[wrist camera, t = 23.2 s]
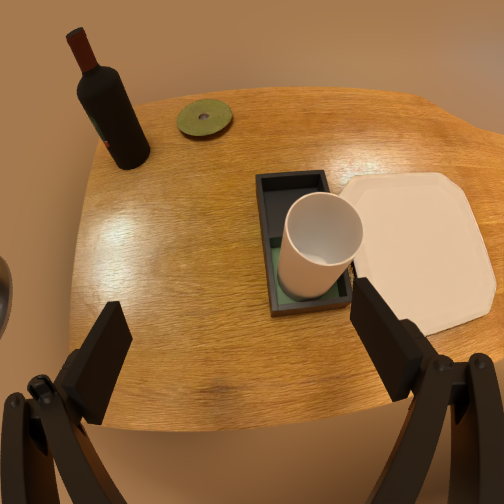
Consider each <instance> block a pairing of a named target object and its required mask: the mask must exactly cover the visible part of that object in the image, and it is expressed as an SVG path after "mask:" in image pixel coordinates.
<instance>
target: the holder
mask: <svg viewBox="0 0 504 504" xmlns="http://www.w3.org/2000/svg"><path fill="white" fill-rule="evenodd" d="M315 192H327V193H330V191H329V187H328V183H327V179H326V176H325V172H324V170H311V171H294V172H280V173H267V174H261V175H260V174H257V175H256V195H257V203H258V211H259V219H260V227H261V235H262V244H263V252H264V260H265V269H266V277H267V286H268V294H269V303H270V311H271V317H277V316H285V315H294V314H302V313H310V312H317V311H324V310H331V309H338V308H345V307H346V306H347V305H349V304H350V303H351V302H352V288H351V283H350V278H349V272H348V268H346V269H345V270H344V272H343V273H342V274H341V275H340V277H339V278H338V279H337V280H336V281H335V283H334V284H333V285H332V286H331V287H330V289H329V290H328V291H327V292H326V293H325V295H323V296H322V297H321V298H320V299H318V300H314V301H306V302H297V301H294V300H292V299H290V298H289V297H288V296H286V295H285V294H284V293H283V291H282V290H281V289H280V287H279V284H278V281H277V268H278V262H279V256H280V250H281V244H282V238H283V232H284V226H285V220H286V216H287V214H288V211H289V209H290V208H291V206H292V205H293V204H294V203H295V202H296V201H297V200H298V199H299V198H301V197H303V196H305V195H307V194H310V193H315Z"/></svg>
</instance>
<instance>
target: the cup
mask: <svg viewBox="0 0 504 504" xmlns="http://www.w3.org/2000/svg"><path fill="white" fill-rule="evenodd" d="M364 238H365V228H364V223H363V220H362V218H361V216H360V214H359V212H358V211H357V209H356V208H355V207H354V206H353V205H352V204H351V203H350V202H348V201H347V200H346V199H344V198H342V197H340V196H338V195H335V194H332V193H327V192H315V193H310V194H307V195H305V196H303V197H301V198H299V199H298V200H297V201H296V202H295V203H294V204H293V205H292V206H291V208H290V209H289V211H288V214H287V216H286V220H285V226H284V232H283V238H282V244H281V250H280V256H279V262H278V268H277V281H278V284H279V287H280V289H281V290H282V291H283V293H284V294H285V295H286V296H288V297H289V298H290V299H292V300H294V301H297V302H306V301H314V300H318V299H320V298H321V297H322V296H323V295H325V293H326V292H327V291H328V290H329V289H330V287H331V286H332V285H333V284H334V283H335V281H336V280H337V279H338V278H339V277H340V275H341V274H342V273H343V272H344V270H345V269H346V268H347V267H348V266H349V264H350V263H351V262H352V261H353V259H354V258H355V257H356V255H357V254H358V253H359V251H360V249H361V247H362V245H363V242H364Z"/></svg>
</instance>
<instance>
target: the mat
mask: <svg viewBox="0 0 504 504" xmlns="http://www.w3.org/2000/svg"><path fill="white" fill-rule="evenodd" d="M231 118H232V111H231V108H230V107H229V106H228V105H227V104H226V103H224V102H222V101H218V100H213V99H206V100H200V101H196V102H194V103H192V104H190V105H188V106H187V107H185V108H184V109H183V110H182V111H181V112H180V114H179V115H178V118H177V125H178V127H179V129H180V130H181V131H182V132H184V133H186V134H189V135H194V136H202V135H209V134H213V133H215V132H217V131H219V130H221V129H223V128H224V127H225V126H226V125H227V124H228V123H229V122H230V120H231Z"/></svg>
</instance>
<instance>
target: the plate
mask: <svg viewBox="0 0 504 504" xmlns="http://www.w3.org/2000/svg"><path fill="white" fill-rule="evenodd" d="M339 196H340V197H342V198H344V199H346V200H347V201H348V202H350V203H351V204H352V205H353V206H354V207H355V208H356V209H357V211H358V212H359V214H360V216H361V218H362V220H363V223H364V228H365V238H364V242H363V245H362V247H361V249H360V251H359V253H358V254H357V255H356V257H355V258H354V259H353V263H354V267H355V271H356V275H357V278H361V277H367V279H368V280H369V281H370V282H371V284H372V285H373V286H374V287H375V289H376V290H377V291H378V293H379V294H380V295H381V297H382V298H383V299H384V300H385V302H386V303H387V304H388V306H389V307H390V308H391V310H392V311H393V312H394V314H395V315H396V316H397V318H398V319H399V320H402V319H406V318H407V319H409V320H410V321H412V322H414V323H415V324H416V325H417V327H418V328H419V329H420V332H422V333H423V334H424V337H425V336H428V335H431V334H434V333H437V332H440V331H443V330H446V329H449V328H452V327H455V326H457V325H460V324H463V323H466V322H468V321H471V320H474V319H476V318H479V317H481V316H484V315H486V314H488V312H489V311H490V308H491V305H492V302H493V298H494V295H495V291H496V288H497V286H496V279H495V276H494V272H493V269H492V266H491V262H490V259H489V256H488V253H487V250H486V247H485V244H484V241H483V238H482V235H481V233H480V230H479V227H478V225H477V222H476V220H475V217H474V214H473V212H472V210H471V207H470V205H469V202H468V200H467V198H466V196H465V193H464V192H463V190H462V189H461V188H460V187H459V186H457V185H456V184H455V183H453V182H452V181H451V180H450V179H448V178H447V177H446V176H444V175H443V174H441V173H438V172H434V173H396V174H374V175H356V176H354V177H352V178H351V179H350V180H349V182H348V183H347V185H346V186H345V187H344V189H343V190H342V192H341V193H340V194H339Z"/></svg>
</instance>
